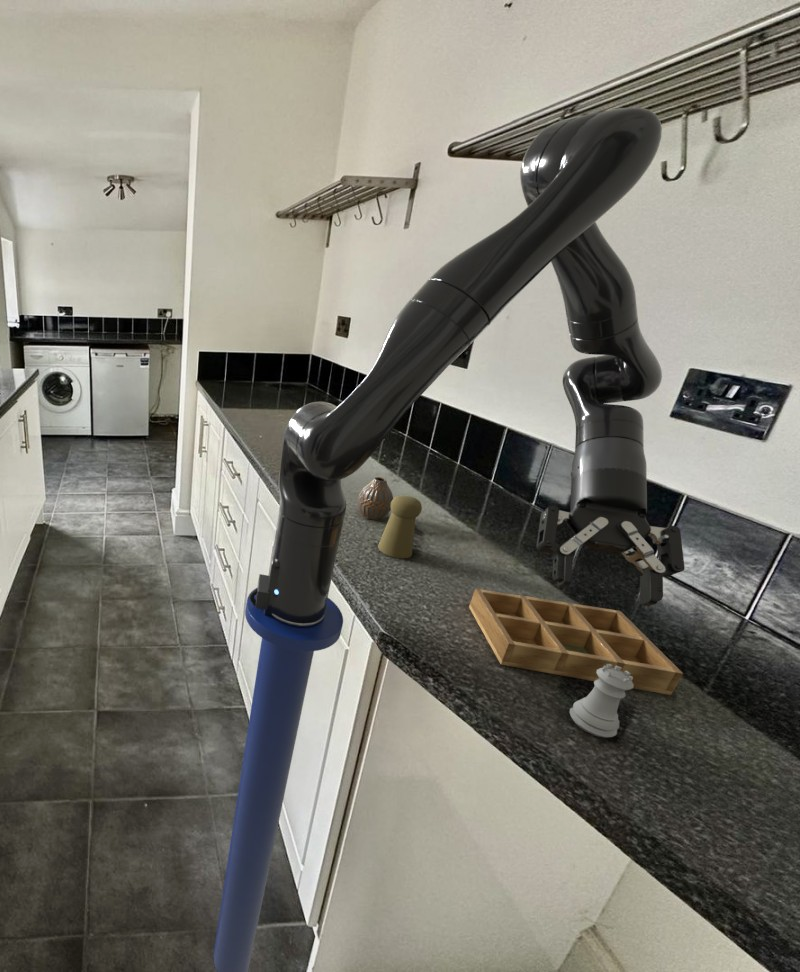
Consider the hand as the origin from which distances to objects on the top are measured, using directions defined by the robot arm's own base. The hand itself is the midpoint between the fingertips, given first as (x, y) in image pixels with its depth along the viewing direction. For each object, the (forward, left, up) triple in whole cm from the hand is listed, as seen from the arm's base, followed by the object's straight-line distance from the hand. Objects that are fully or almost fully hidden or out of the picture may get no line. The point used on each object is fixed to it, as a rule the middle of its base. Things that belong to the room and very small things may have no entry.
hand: (605, 594), depth 63 cm
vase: (-19, +44, -13) cm, 49 cm away
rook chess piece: (-2, -9, -13) cm, 16 cm away
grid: (+1, +6, -13) cm, 14 cm away
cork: (-17, +29, -13) cm, 36 cm away
